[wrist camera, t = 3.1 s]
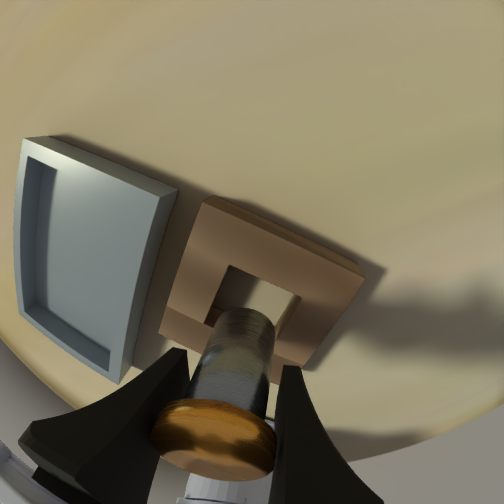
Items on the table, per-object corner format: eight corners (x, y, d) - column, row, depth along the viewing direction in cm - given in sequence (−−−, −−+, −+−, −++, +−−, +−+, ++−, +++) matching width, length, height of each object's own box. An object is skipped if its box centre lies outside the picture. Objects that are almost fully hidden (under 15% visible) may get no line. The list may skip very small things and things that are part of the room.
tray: (131, 366, 21) (118, 385, 19) (34, 301, 21) (19, 313, 19) (178, 189, 15) (159, 197, 13) (47, 135, 15) (23, 138, 13)
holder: (286, 367, 19) (285, 387, 17) (169, 316, 18) (158, 333, 17) (357, 263, 15) (365, 278, 14) (213, 195, 15) (202, 201, 13)
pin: (264, 372, 14) (244, 489, 8) (195, 343, 14) (143, 452, 8) (300, 319, 13) (299, 453, 6) (221, 284, 13) (160, 405, 6)
